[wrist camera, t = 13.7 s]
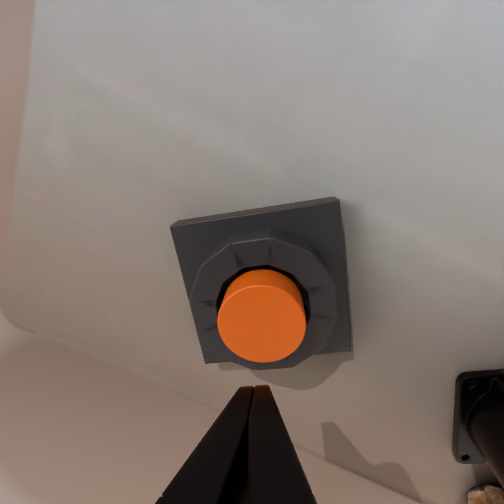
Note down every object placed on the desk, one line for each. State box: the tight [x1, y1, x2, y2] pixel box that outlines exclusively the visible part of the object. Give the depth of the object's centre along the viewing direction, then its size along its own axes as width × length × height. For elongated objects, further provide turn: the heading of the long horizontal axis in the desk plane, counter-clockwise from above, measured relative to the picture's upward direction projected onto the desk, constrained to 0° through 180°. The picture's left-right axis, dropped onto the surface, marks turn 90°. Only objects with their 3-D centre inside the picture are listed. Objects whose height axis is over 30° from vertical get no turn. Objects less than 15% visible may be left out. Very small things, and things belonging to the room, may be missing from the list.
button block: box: [170, 197, 351, 370], centre depth 15 cm, size 8×8×3 cm
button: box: [217, 269, 306, 363], centre depth 13 cm, size 4×4×2 cm
